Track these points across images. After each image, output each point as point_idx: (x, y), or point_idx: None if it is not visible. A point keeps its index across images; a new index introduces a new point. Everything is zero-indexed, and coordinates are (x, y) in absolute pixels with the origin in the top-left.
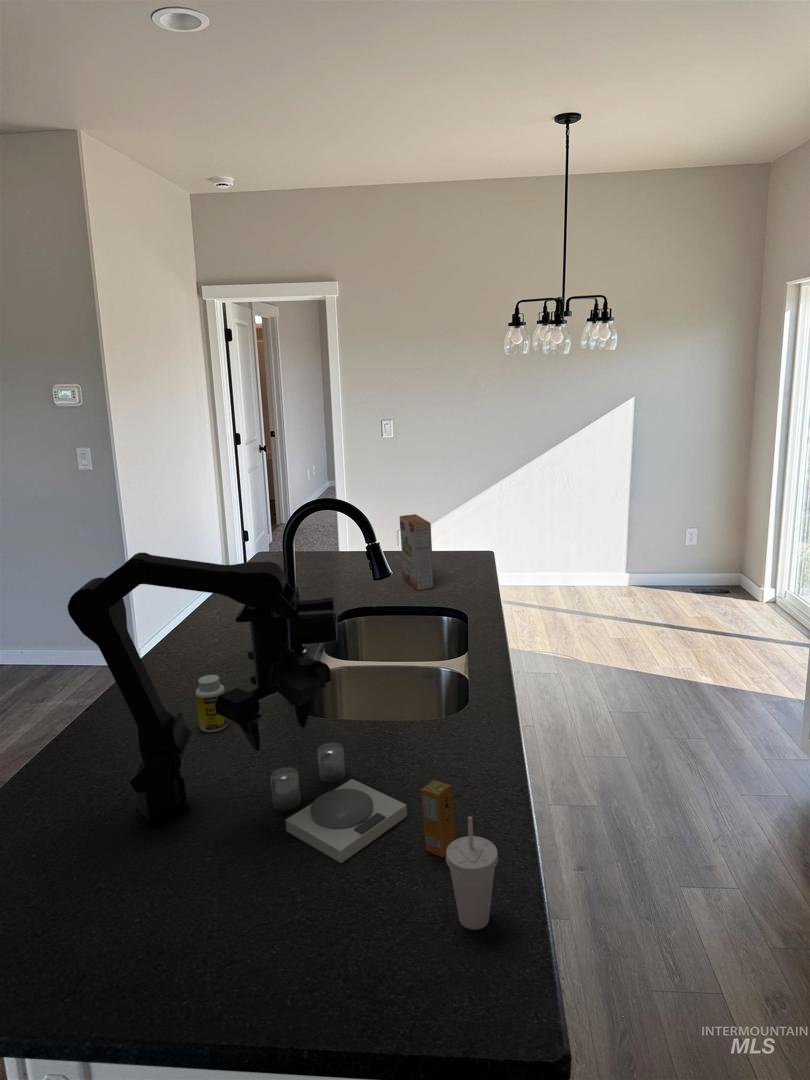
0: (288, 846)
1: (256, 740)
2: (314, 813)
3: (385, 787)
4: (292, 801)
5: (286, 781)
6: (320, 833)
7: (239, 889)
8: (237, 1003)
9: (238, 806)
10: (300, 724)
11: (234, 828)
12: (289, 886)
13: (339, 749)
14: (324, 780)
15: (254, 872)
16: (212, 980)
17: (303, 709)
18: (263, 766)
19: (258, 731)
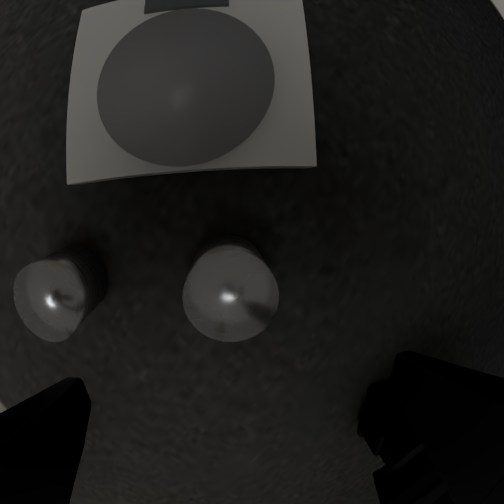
0: (336, 122)
1: (461, 369)
2: (257, 107)
3: (35, 137)
4: (235, 238)
5: (251, 259)
6: (292, 52)
7: (447, 116)
8: (487, 15)
9: (312, 339)
10: (84, 403)
11: (368, 275)
12: (394, 47)
13: (25, 280)
14: (105, 271)
15: (417, 124)
16: (499, 50)
17: (24, 450)
18: (180, 417)
19: (489, 397)
